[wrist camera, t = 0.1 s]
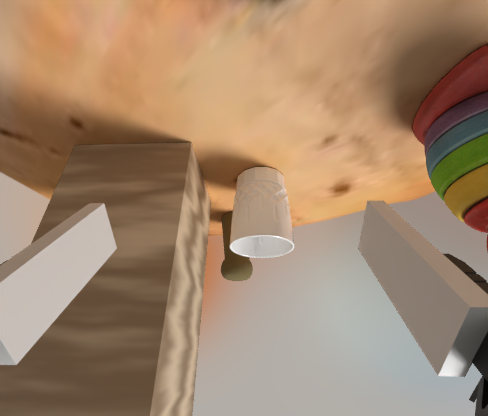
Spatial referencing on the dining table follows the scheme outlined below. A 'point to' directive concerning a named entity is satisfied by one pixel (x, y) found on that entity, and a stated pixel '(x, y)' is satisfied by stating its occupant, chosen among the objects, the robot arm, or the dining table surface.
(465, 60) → the stacking bear
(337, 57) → the dining table surface
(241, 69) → the dining table surface
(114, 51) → the dining table surface
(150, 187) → the tall wooden block
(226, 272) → the olive pawn
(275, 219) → the white cup
